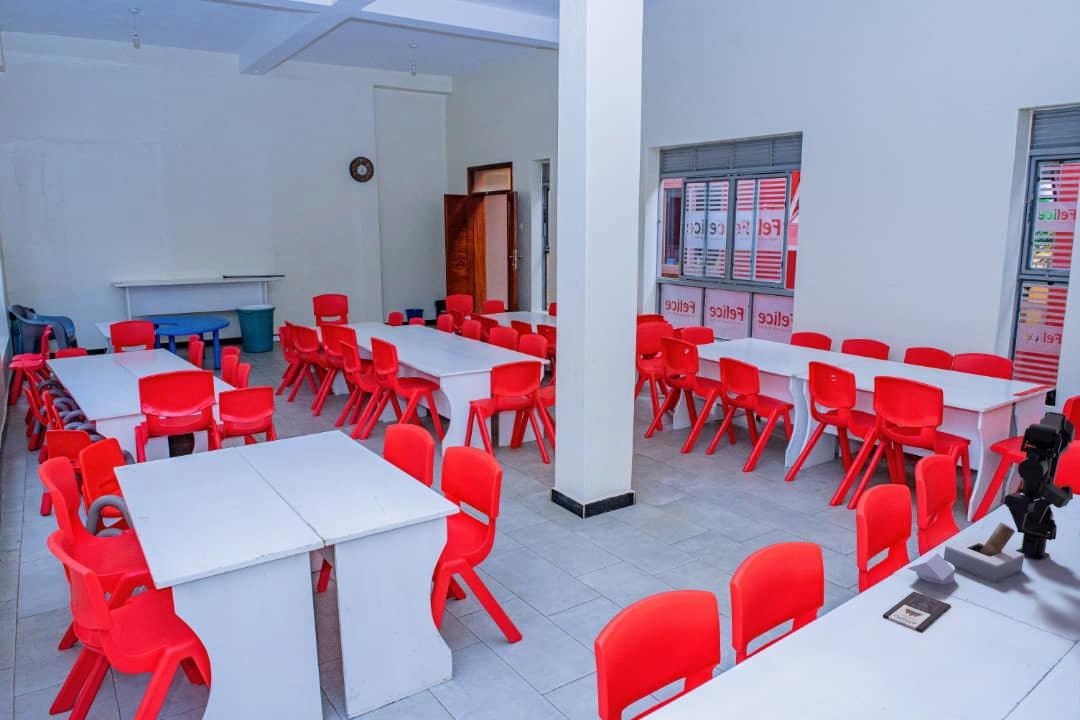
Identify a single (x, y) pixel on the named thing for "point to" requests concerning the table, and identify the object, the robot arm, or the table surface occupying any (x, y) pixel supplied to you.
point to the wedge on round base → (934, 569)
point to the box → (983, 559)
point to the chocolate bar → (916, 611)
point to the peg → (997, 540)
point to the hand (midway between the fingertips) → (1028, 526)
